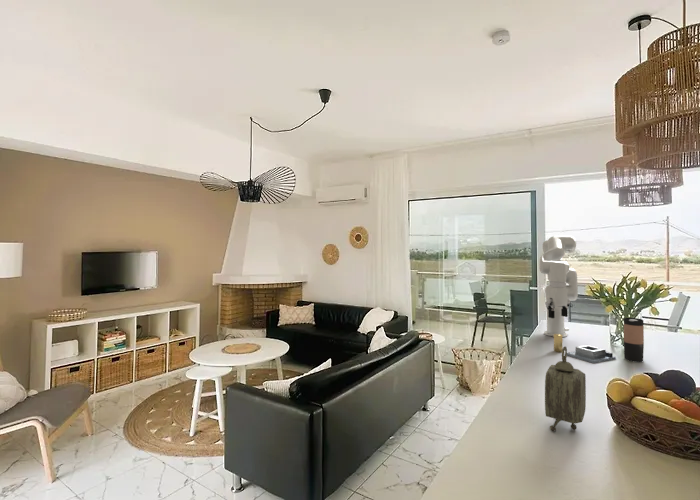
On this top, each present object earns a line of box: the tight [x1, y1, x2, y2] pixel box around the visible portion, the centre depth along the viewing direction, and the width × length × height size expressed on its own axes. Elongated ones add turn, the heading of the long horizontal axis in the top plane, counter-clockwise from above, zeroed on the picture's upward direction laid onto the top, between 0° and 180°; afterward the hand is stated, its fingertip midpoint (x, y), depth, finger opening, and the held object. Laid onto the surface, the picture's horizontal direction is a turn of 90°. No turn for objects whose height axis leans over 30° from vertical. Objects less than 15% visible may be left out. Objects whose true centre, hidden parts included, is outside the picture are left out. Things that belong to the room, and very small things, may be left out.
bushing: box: [553, 334, 564, 354], centre depth 186 cm, size 4×4×9 cm
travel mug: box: [623, 317, 645, 363], centre depth 171 cm, size 8×8×20 cm
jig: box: [567, 344, 617, 364], centre depth 176 cm, size 16×14×4 cm
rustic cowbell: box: [544, 346, 587, 432], centre depth 108 cm, size 14×9×25 cm, turn 141°
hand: (558, 317), depth 185 cm, fingers open, 9 cm apart
